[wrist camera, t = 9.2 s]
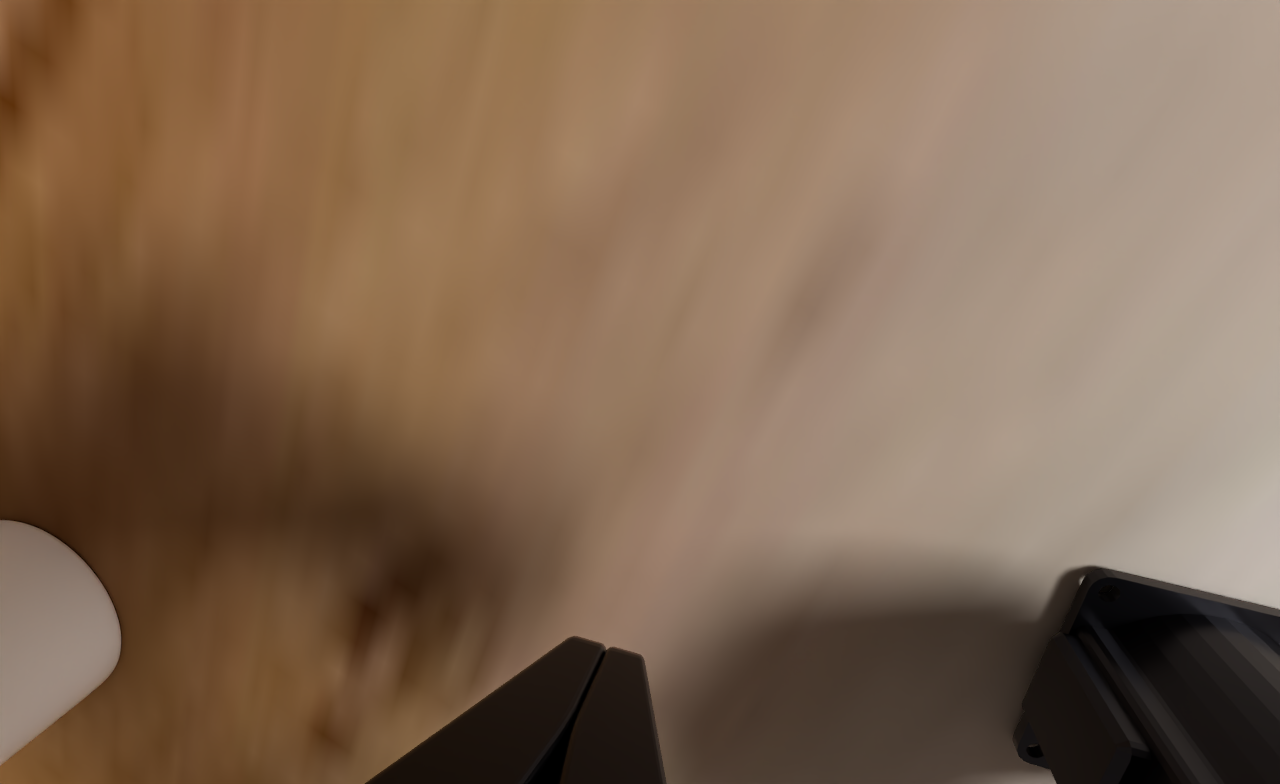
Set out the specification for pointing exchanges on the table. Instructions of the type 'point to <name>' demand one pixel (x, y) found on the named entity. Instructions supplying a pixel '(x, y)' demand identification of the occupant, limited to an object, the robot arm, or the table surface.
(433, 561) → the table surface
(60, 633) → the candle holder
